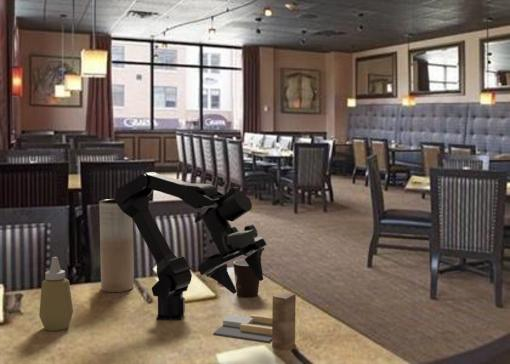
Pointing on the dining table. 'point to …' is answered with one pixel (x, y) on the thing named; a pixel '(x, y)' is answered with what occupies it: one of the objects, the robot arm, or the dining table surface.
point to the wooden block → (283, 320)
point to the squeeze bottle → (55, 299)
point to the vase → (115, 248)
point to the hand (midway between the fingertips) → (248, 286)
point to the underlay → (247, 327)
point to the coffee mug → (245, 280)
